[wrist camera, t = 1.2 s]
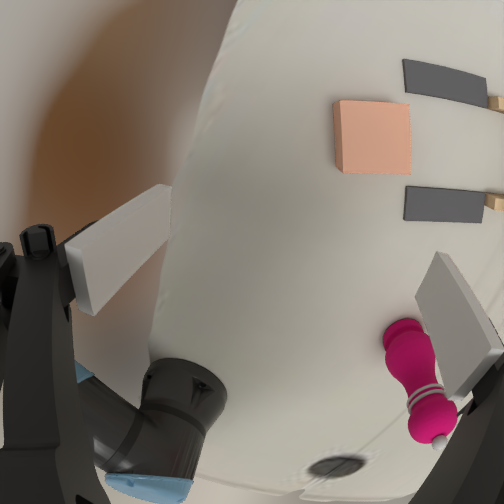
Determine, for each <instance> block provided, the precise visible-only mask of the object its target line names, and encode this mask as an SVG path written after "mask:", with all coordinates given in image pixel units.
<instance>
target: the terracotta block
mask: <svg viewBox="0 0 504 504" xmlns="http://www.w3.org/2000/svg"><path fill="white" fill-rule="evenodd" d="M333 115H334V131H335V153H336V167H337V168H338V169H339V170H340V171H341V172H342V173H369V174H404V175H411V130H410V108H409V105H408V104H398V103H387V102H373V101H351V100H339V101H338V102H336V103H334V104H333Z"/></svg>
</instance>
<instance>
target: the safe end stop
mask: <svg viewBox="0 0 504 504" xmlns="http://www.w3.org/2000/svg"><path fill="white" fill-rule="evenodd" d="M486 109H490V110H494V111H497V112H500V113H504V98H501V97H498V96H497V97H488V108H486ZM484 193H485V192H484ZM484 205H486V206H487V207H489V208H491V209H493V210H498V211H504V195H502V194H494V193H486V194H485V203H484Z"/></svg>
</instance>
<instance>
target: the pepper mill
mask: <svg viewBox="0 0 504 504" xmlns="http://www.w3.org/2000/svg"><path fill="white" fill-rule="evenodd" d="M383 344H384V347H385V350H386V355H385V361H386V365H387V368H388V370H389V372H390V373H391V374H392V375H393V377H395V378H396V379H397V380H398V381H399V382H400V383H402V385H403V386H404V388H405V390H406V392H407V394H408V401H407V408H408V412H409V414H410V417H409V420H408V430H409V432H410V435H411V436H412V438H413V439H414V440H415V441H417V442H419V443H423V444H429V443H432V447H433V449H435V450H442V449H443V448H445V446H446V445H447V438H446V436H447V435H448V434H449V433H450V432H451V431H452V430H453V429H454V427H455V425H456V423H457V418H458V417H457V416H456V415H457V414H458V412H457V407H456V405H455V403H454V402H453V401H452V400H448V399H447V395H446V392H445V389H444V387H443V386H442V385H441V384H438V382H437V379H436V376H435V357H436V356H435V352H434V349H433V346H432V343H431V340H430V337H429V336H428V335H427V334H425V333H424V331H423V329H422V327H421V325H420V324H419V322H417V321H416V320H413V319H402V320H399V321H397V322H395V323H394V324H392V325H391V326H390V327H389V328H388V329H387V331H386V332H385V334H384V337H383Z"/></svg>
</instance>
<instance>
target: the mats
mask: <svg viewBox="0 0 504 504" xmlns="http://www.w3.org/2000/svg"><path fill="white" fill-rule="evenodd" d="M402 61H403V70H404V81H405V92H407V93H414V94H421V95H427V96H433V97H438V98H443V99H448V100H453V101H458V102H462V103H467V104H471V105H475V106H479V107H483V108H488V96H487V84H486V78H483V77H480V76H477V75H474V74H470V73H467V72H463V71H459V70H456V69H452V68H448V67H443V66H439V65H434V64H430V63H425V62H420V61H414V60H408V59H403V60H402ZM485 194H486V193H484V192H475V191H465V190H454V189H442V188H428V187H411V186H406V191H405V205H404V217H403V219H404V220H405V221H433V222H462V223H482V217H483V210H484V203H485Z"/></svg>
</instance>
